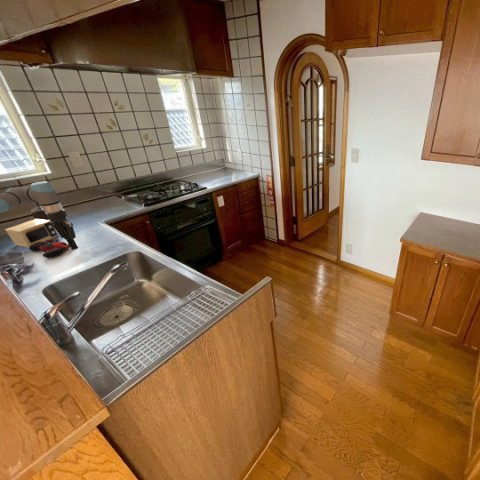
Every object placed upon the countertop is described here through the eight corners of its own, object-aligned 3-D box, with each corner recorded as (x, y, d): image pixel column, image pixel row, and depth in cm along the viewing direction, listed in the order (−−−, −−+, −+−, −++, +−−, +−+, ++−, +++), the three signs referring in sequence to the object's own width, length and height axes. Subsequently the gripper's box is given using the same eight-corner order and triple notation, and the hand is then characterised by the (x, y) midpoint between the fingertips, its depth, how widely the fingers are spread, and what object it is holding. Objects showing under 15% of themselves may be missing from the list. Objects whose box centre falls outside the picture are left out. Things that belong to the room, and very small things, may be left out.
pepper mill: (37, 225, 186) (23, 201, 177) (36, 221, 192) (23, 197, 184) (66, 218, 195) (54, 195, 187) (64, 215, 202) (52, 192, 194)
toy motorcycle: (50, 262, 146) (81, 245, 157) (44, 255, 143) (75, 238, 154) (31, 253, 156) (61, 238, 167) (24, 246, 153) (55, 231, 164)
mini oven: (15, 245, 161) (5, 229, 155) (45, 233, 174) (36, 218, 169) (31, 247, 158) (21, 231, 152) (60, 235, 171) (51, 220, 166)
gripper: (71, 209, 142) (90, 247, 153) (53, 207, 144) (73, 244, 156) (56, 214, 135) (77, 253, 147) (37, 212, 138) (59, 250, 149)
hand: (74, 248), depth 151 cm, fingers closed
